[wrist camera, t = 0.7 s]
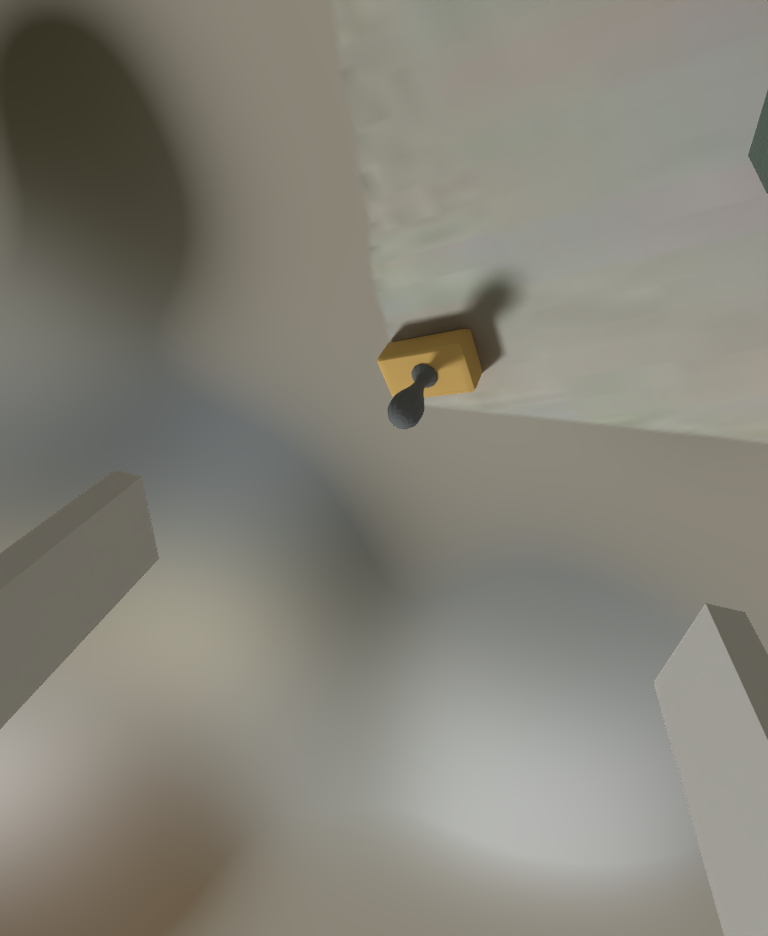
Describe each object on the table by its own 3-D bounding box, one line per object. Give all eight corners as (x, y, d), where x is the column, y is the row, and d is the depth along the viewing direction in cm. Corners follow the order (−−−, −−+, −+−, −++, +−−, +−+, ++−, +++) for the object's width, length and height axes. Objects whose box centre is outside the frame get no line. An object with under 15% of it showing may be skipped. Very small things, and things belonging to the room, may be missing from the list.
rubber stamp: (469, 326, 50) (436, 393, 42) (483, 373, 53) (454, 443, 45) (387, 341, 55) (343, 404, 47) (404, 384, 58) (366, 448, 50)
